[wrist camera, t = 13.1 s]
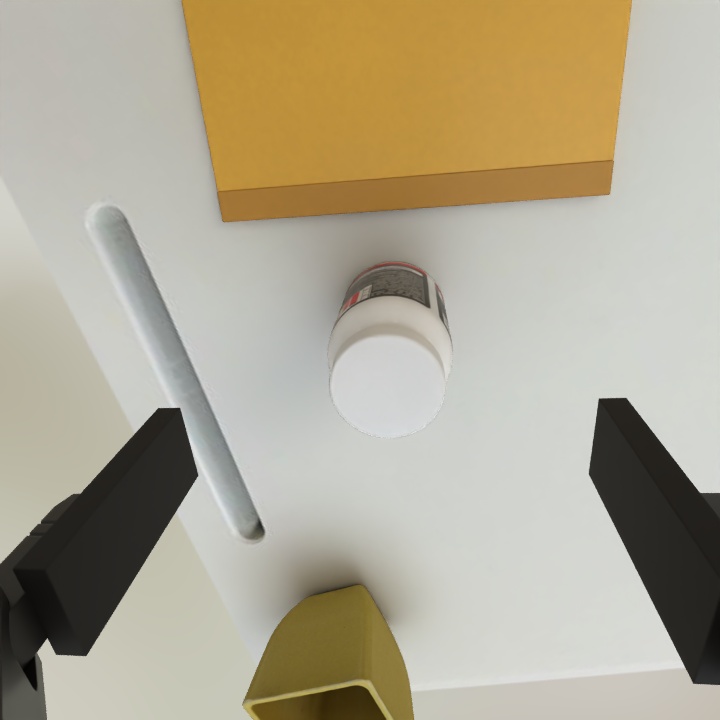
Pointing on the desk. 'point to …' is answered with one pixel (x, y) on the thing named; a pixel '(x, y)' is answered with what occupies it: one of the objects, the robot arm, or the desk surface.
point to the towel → (406, 101)
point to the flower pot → (331, 664)
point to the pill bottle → (390, 351)
